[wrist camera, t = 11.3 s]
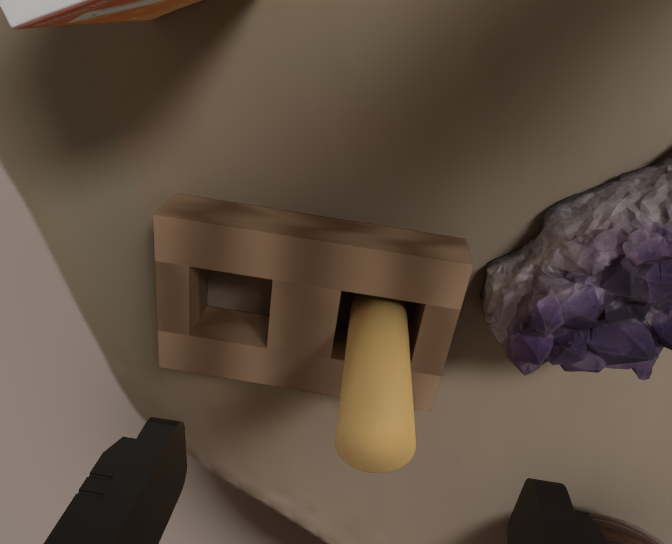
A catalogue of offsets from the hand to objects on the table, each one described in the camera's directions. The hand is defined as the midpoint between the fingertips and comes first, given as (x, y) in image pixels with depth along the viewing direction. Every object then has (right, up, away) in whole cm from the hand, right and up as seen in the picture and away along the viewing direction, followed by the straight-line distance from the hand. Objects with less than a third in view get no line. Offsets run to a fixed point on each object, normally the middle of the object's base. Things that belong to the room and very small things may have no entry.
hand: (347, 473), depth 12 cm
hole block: (-2, +3, +26) cm, 26 cm away
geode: (+19, +7, +23) cm, 30 cm away
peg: (+3, +3, +26) cm, 26 cm away
